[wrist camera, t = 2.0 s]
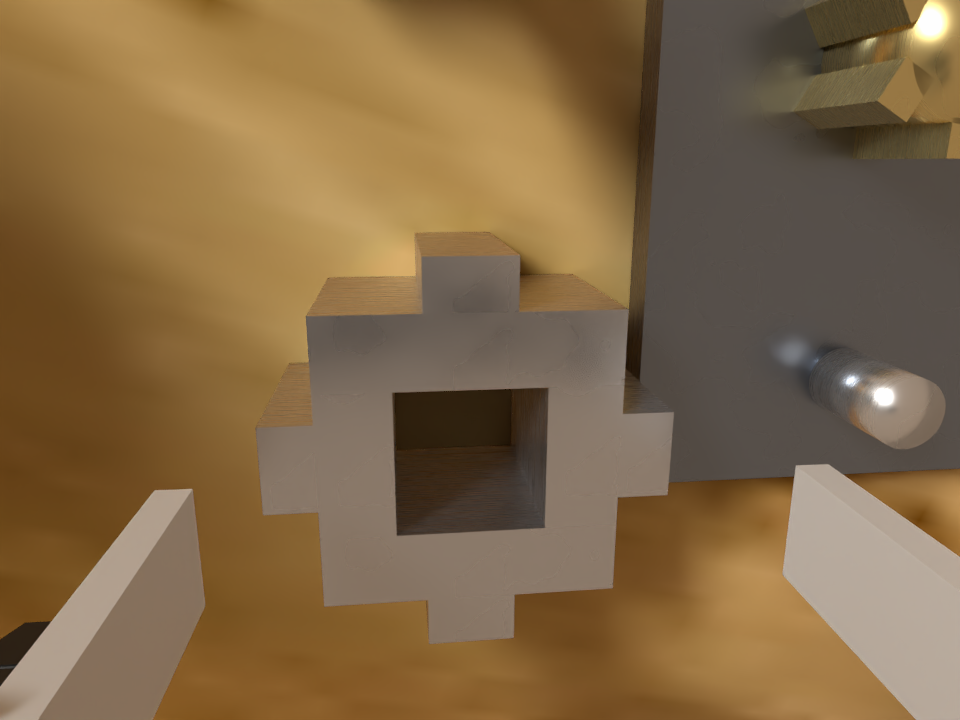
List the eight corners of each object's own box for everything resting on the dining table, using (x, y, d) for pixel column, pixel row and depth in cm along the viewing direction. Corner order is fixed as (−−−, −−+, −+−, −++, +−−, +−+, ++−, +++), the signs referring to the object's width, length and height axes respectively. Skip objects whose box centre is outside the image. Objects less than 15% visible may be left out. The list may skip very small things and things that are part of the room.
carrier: (620, 466, 26) (677, 543, 21) (661, -260, 20) (755, -407, 15) (976, 450, 28) (1113, 518, 22) (1110, -230, 22) (1338, -354, 17)
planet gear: (302, 543, 26) (274, 654, 20) (280, 234, 23) (241, 258, 17) (600, 527, 27) (657, 627, 21) (616, 230, 24) (686, 253, 18)
